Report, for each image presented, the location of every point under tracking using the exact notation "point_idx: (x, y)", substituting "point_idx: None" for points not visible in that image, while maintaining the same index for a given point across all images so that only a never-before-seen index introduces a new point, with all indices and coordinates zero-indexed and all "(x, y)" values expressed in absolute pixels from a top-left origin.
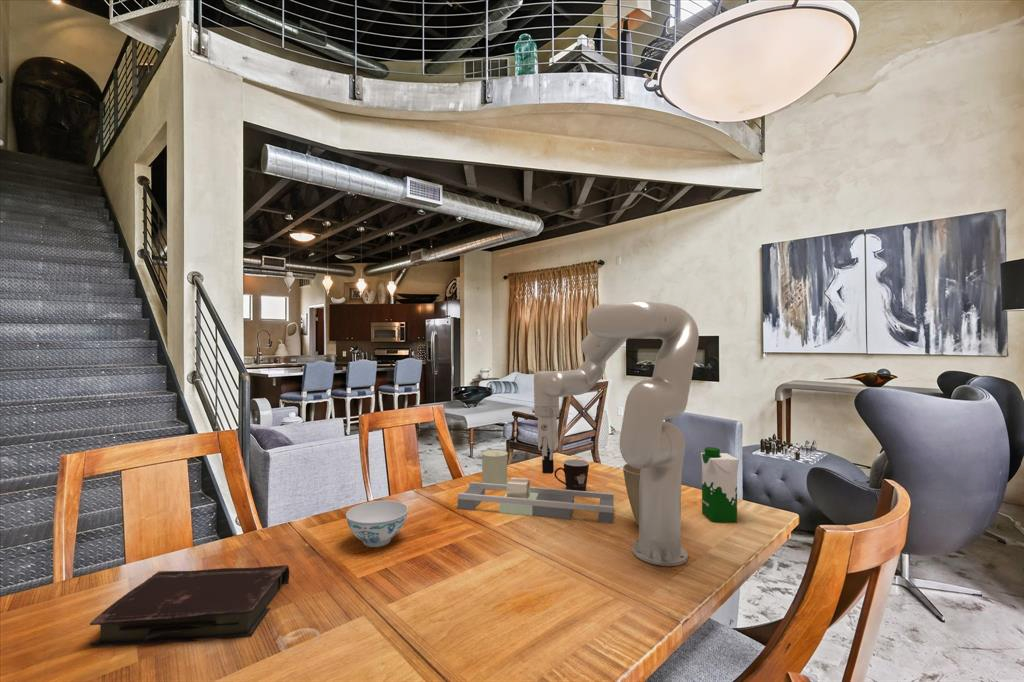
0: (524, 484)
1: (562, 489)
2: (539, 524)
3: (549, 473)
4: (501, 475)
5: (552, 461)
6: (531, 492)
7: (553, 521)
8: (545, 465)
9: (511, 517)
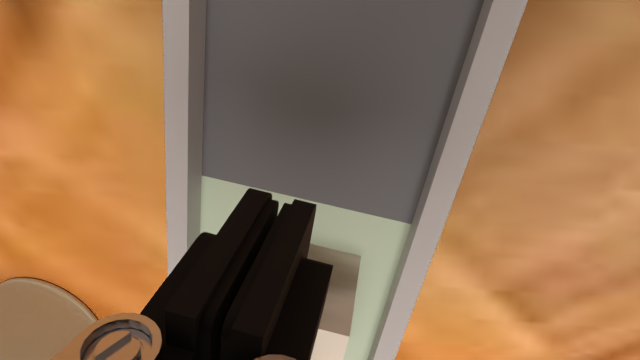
0: (343, 345)
1: (166, 10)
2: (565, 167)
3: (309, 234)
4: (33, 357)
5: (272, 323)
6: (199, 216)
7: (529, 82)
8: (309, 358)
9: (446, 288)
